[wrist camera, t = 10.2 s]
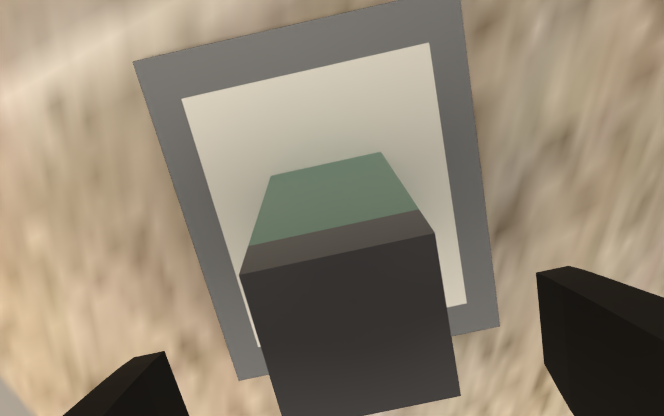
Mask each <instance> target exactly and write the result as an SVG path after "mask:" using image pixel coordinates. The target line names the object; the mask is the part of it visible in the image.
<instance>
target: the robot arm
mask: <svg viewBox="0 0 664 416" xmlns="http://www.w3.org/2000/svg"><path fill="white" fill-rule="evenodd" d="M536 278H537V289H538V300H539V311H540V322H541V333H542V344H543V355H544V364H545V366H546V368H547V369H548V371H549V373H550V375H551V377H552V379H553V380H554V382H555V384H556V386H557V388H558V390H559V391H560V393H561V395H562V396H563V398H564V400H565V402H566V403H567V405H568V407H569V408H570V410H571V412H572V413H573V415H574V416H664V298H663V297H660V296H657V295H654V294H652V293H649V292H646V291H643V290H640V289H637V288H635V287H632V286H629V285H626V284H623V283H621V282H618V281H615V280H612V279H609V278H606V277H603V276H600V275H597V274H595V273H592V272H588V271H585V270H582V269H579V268H575V267H571V266H566V267H561V268H556V269H552V270H547V271H542V272H537V273H536ZM63 416H189V414H188V412H187V409H186V406H185V404H184V401H183V398H182V396H181V393H180V391H179V388H178V385H177V383H176V380H175V378H174V375H173V372H172V370H171V367H170V364H169V362H168V359H167V357H166V354H165V351H162V352H158V353H153V354H148V355H143V356H139V357H134V358H133V359H131V360H130V361H128V362H127V363H125V364H124V365H123V366H121V367H120V368H119V369H117V370H116V371H115V372H114V373H112V374H111V375H110V376H109V377H108V378H106V379H105V380H104V381H103V382H102V383H100V384H99V385H98V386H97V387H96V388H94V389H93V390H92V391H91V392H90V393H89V394H87V395H86V396H85V397H84V398H83V399H82V400H80V401H79V402H78V403H77V404H76V405H75V406H73V407H72V408H71V409H70V410H69V411H68V412H66V413H65V414H64V415H63Z"/></svg>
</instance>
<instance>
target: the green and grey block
mask: <svg viewBox="0 0 664 416" xmlns="http://www.w3.org/2000/svg"><path fill="white" fill-rule="evenodd" d="M239 278H240V281H241V284H242V287H243V291H244V294H245V297H246V300H247V304H248V307H249V310H250V314H251V317H252V320H253V323H254V327H255V330H256V333H257V336H258V340H259V343H260V346H261V349H262V353H263V356H264V359H265V363H266V366H267V369H268V372H269V376H270V379H271V382H272V385H273V389H274V392H275V395H276V398H277V402H278V405H279V408H280V411H281V415H282V416H364V415H369V414H374V413H379V412H384V411H389V410H394V409H399V408H403V407H408V406H413V405H418V404H423V403H428V402H433V401H438V400H443V399H448V398H452V397H457V396H461V394H460V387H459V381H458V375H457V369H456V362H455V356H454V350H453V343H452V337H451V331H450V325H449V318H448V312H447V306H446V299H445V293H444V287H443V281H442V274H441V268H440V262H439V255H438V249H437V243H436V236H435V232H434V231H433V229H432V228H431V226H430V225H429V223H428V222H427V220H426V219H425V217H424V216H423V214H422V213H421V211H420V210H419V208H418V207H417V205H416V204H415V202H414V201H413V199H412V198H411V196H410V195H409V193H408V192H407V190H406V189H405V187H404V186H403V184H402V183H401V181H400V180H399V178H398V177H397V175H396V174H395V172H394V171H393V169H392V168H391V166H390V165H389V163H388V162H387V160H386V159H385V157H384V156H383V154H382V153H381V152H377V153H372V154H368V155H363V156H359V157H354V158H350V159H345V160H341V161H336V162H331V163H327V164H322V165H318V166H313V167H309V168H304V169H300V170H295V171H291V172H286V173H281V174H277V175H272V176H271V177H270V180H269V183H268V186H267V189H266V192H265V195H264V198H263V201H262V205H261V208H260V211H259V214H258V217H257V220H256V223H255V226H254V229H253V232H252V235H251V239H250V242H249V245H248V248H247V251H246V254H245V257H244V260H243V263H242V266H241V269H240V273H239Z"/></svg>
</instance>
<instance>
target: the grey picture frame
mask: <svg viewBox="0 0 664 416" xmlns="http://www.w3.org/2000/svg"><path fill="white" fill-rule="evenodd" d="M133 65H134V68H135V71H136V74H137V77H138V80H139V83H140V86H141V89H142V92H143V95H144V98H145V101H146V104H147V107H148V110H149V113H150V116H151V119H152V122H153V125H154V128H155V131H156V134H157V137H158V140H159V143H160V146H161V149H162V152H163V155H164V158H165V161H166V164H167V167H168V170H169V173H170V176H171V179H172V182H173V185H174V188H175V191H176V194H177V197H178V200H179V203H180V206H181V209H182V212H183V215H184V218H185V221H186V224H187V227H188V230H189V233H190V236H191V239H192V242H193V245H194V248H195V251H196V254H197V257H198V260H199V263H200V266H201V269H202V272H203V275H204V278H205V281H206V284H207V287H208V290H209V293H210V296H211V299H212V302H213V305H214V308H215V311H216V314H217V317H218V320H219V323H220V326H221V329H222V332H223V335H224V338H225V341H226V344H227V347H228V350H229V353H230V356H231V359H232V362H233V365H234V368H235V371H236V374H237V377H238V380H239V381H240V380H245V379H250V378H255V377H259V376H264V375H269V372H268V369H267V366H266V363H265V359H264V356H263V353H262V349H261V346H260V343H259V340H258V336H257V333H256V330H255V327H254V323H253V320H252V317H251V314H250V310H249V307H248V304H247V300H246V297H245V294H244V291H243V287H242V284H241V281H240V278H239V273H240V269H241V266H242V263H243V260H244V257H245V254H246V251H247V248H248V245H249V242H250V239H251V235H252V232H253V229H254V226H255V223H256V220H257V217H258V214H259V211H260V208H261V205H262V201H263V198H264V195H265V192H266V189H267V186H268V183H269V180H270V177H271V176H272V175H277V174H281V173H286V172H291V171H295V170H300V169H304V168H309V167H313V166H318V165H322V164H327V163H331V162H336V161H341V160H345V159H350V158H354V157H359V156H363V155H368V154H372V153H377V152H381V153H382V154H383V156H384V157H385V159H386V160H387V162H388V163H389V165H390V166H391V168H392V169H393V171H394V172H395V174H396V175H397V177H398V178H399V180H400V181H401V183H402V184H403V186H404V187H405V189H406V190H407V192H408V193H409V195H410V196H411V198H412V199H413V201H414V202H415V204H416V205H417V207H418V208H419V210H420V211H421V213H422V214H423V216H424V217H425V219H426V220H427V222H428V223H429V225H430V226H431V228H432V229H433V231H434V232H435V236H436V243H437V249H438V255H439V262H440V268H441V274H442V281H443V287H444V293H445V299H446V306H447V312H448V318H449V325H450V331H451V336H456V335H461V334H465V333H470V332H475V331H480V330H485V329H489V328H494V327H499V326H500V322H499V314H498V305H497V297H496V289H495V281H494V273H493V264H492V256H491V248H490V240H489V232H488V224H487V215H486V207H485V199H484V191H483V183H482V174H481V166H480V158H479V150H478V142H477V133H476V125H475V117H474V109H473V101H472V92H471V84H470V76H469V68H468V60H467V51H466V43H465V35H464V27H463V19H462V11H461V2H460V0H398V1H393V2H389V3H385V4H380V5H376V6H372V7H367V8H363V9H359V10H354V11H350V12H346V13H341V14H337V15H333V16H328V17H324V18H320V19H315V20H311V21H307V22H302V23H298V24H294V25H289V26H285V27H281V28H276V29H272V30H268V31H263V32H259V33H254V34H250V35H246V36H241V37H237V38H233V39H228V40H224V41H220V42H215V43H211V44H207V45H202V46H198V47H194V48H189V49H185V50H181V51H176V52H172V53H168V54H163V55H159V56H155V57H150V58H146V59H142V60H137V61H133Z"/></svg>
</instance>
